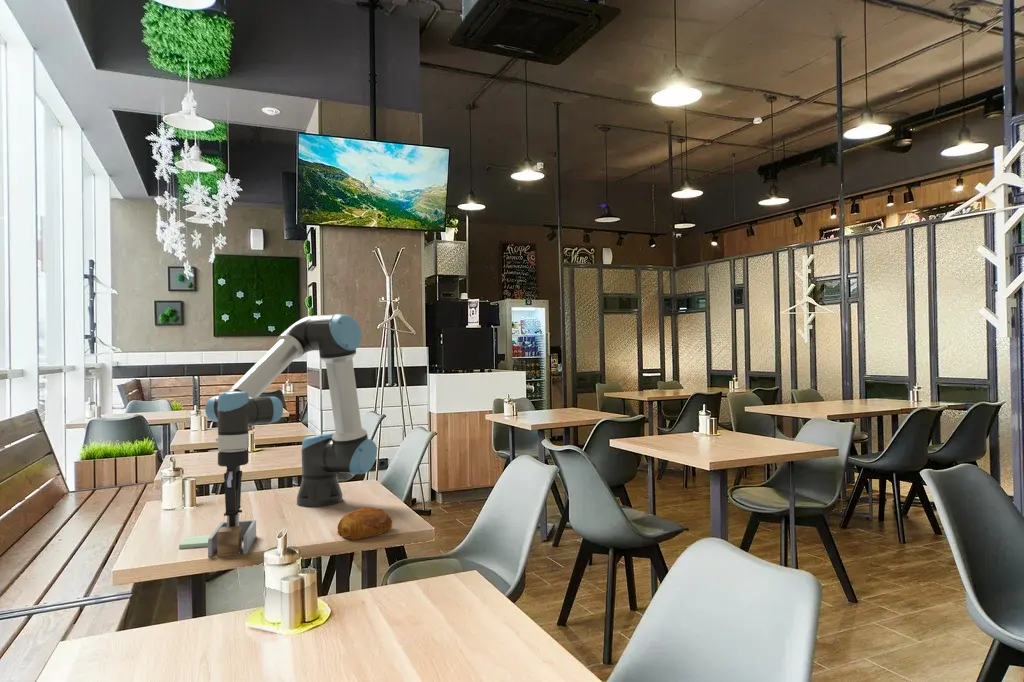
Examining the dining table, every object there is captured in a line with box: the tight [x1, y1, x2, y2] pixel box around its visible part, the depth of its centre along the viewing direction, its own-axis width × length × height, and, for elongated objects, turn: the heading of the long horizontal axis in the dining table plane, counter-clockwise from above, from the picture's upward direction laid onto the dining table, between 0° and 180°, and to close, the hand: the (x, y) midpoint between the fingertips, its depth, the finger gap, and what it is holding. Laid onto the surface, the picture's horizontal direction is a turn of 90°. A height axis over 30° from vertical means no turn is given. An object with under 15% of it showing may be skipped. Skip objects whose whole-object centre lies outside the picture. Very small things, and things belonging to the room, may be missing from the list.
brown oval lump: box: [337, 506, 393, 540], centre depth 184 cm, size 14×16×8 cm
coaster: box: [178, 534, 212, 550], centre depth 175 cm, size 8×8×1 cm
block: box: [216, 526, 243, 557], centre depth 167 cm, size 5×5×6 cm
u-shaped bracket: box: [207, 519, 257, 558], centre depth 172 cm, size 9×17×4 cm, turn 14°
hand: (233, 539), depth 172 cm, fingers closed
